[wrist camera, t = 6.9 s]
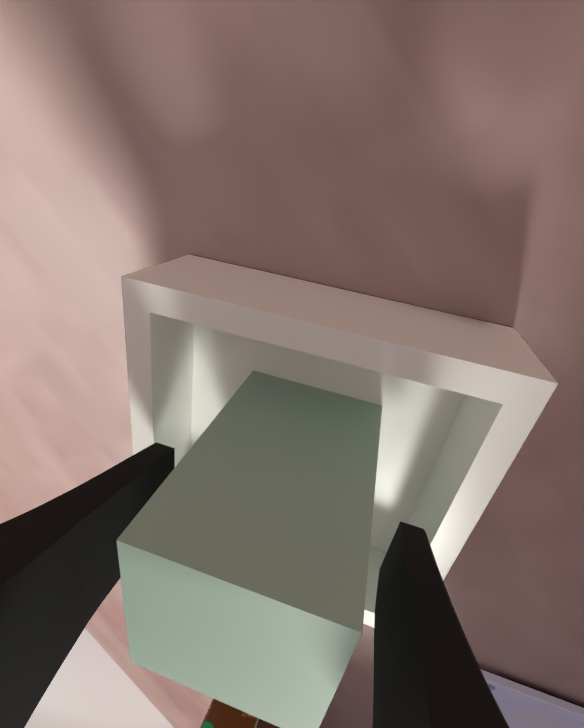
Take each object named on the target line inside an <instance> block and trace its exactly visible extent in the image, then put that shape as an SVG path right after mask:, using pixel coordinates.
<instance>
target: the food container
mask: <svg viewBox="0 0 584 728" xmlns="http://www.w3.org/2000/svg"><path fill="white" fill-rule="evenodd" d="M201 728H280V727H278V726H275V725H273V724H271V723H268V722H266V721H264V720H262V719H259V718H257V717H255V716H252V715H250V714H248V713H246V712H243V711H241V710H239V709H236V708H234V707H232V706H230V705H227V704H225V703H223V702H220V701H218V700H216V699H214V698H213V700H212V702H211V705H210V707H209V709H208V712H207V714H206V716H205V718H204V721H203V723H202V725H201Z"/></svg>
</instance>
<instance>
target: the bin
mask: <svg viewBox="0 0 584 728" xmlns="http://www.w3.org/2000/svg"><path fill="white" fill-rule="evenodd" d="M121 281H122V295H123V310H124V325H125V340H126V355H127V369H128V384H129V399H130V414H131V428H132V443H133V455H134V454H136V453H138V452H140V451H141V450H143V449H145V448H147V447H149V446H150V445H152V444H154V443H156V442H157V443H160V444H163V445H166V446H169V447H172V448H175V467H176V466H177V464H178V463H179V462H180V461H181V459H182V458H183V457H184V456H185V454H186V453H187V452H188V451H189V449H190V448H191V447H192V446H193V444H194V443H195V442H196V441H197V439H198V438H199V437H200V436H201V435H202V433H203V432H204V431H205V430H206V428H207V427H208V426H209V425H210V423H211V422H212V421H213V420H214V418H215V417H216V416H217V415H218V413H219V412H220V411H221V410H222V408H223V407H224V406H225V405H226V404H227V402H228V401H229V400H230V399H231V397H232V396H233V395H234V394H235V392H236V391H237V390H238V389H239V387H240V386H241V385H242V384H243V382H244V381H245V380H246V379H247V377H248V376H249V375H250V374H251V372H252V371H253V370H254V371H257V372H261V373H265V374H268V375H272V376H276V377H279V378H283V379H287V380H290V381H294V382H298V383H301V384H305V385H309V386H312V387H316V388H320V389H323V390H327V391H331V392H334V393H338V394H342V395H345V396H349V397H353V398H356V399H360V400H364V401H367V402H371V403H375V404H378V405H382V415H381V426H380V438H379V449H378V460H377V472H376V483H375V494H374V506H373V517H372V529H371V540H370V551H369V563H368V574H367V586H366V597H365V608H364V620H363V624H366V625H368V626H371V627H374V624H375V604H376V594H377V586H378V578H379V569H380V567H381V564H382V562H383V560H384V558H385V555H386V553H387V551H388V548H389V546H390V544H391V541H392V539H393V537H394V535H395V532H396V530H397V528H398V525H399V523H400V521H401V522H404V523H407V524H410V525H413V526H416V527H419V528H422V529H424V530H425V532H426V533H427V536H428V539H429V543H430V546H431V548H432V551H433V554H434V557H435V560H436V563H437V566H438V569H439V571H440V574H441V577H442V579H443V580H444V578H445V577H446V575H447V573H448V571H449V570H450V568H451V566H452V565H453V563H454V561H455V560H456V558H457V556H458V554H459V553H460V551H461V549H462V548H463V546H464V544H465V542H466V541H467V539H468V537H469V536H470V534H471V532H472V530H473V529H474V527H475V525H476V524H477V522H478V520H479V518H480V517H481V515H482V513H483V512H484V510H485V508H486V506H487V505H488V503H489V501H490V500H491V498H492V496H493V494H494V493H495V491H496V489H497V488H498V486H499V484H500V483H501V481H502V479H503V477H504V476H505V474H506V472H507V471H508V469H509V467H510V465H511V464H512V462H513V460H514V459H515V457H516V455H517V453H518V452H519V450H520V448H521V447H522V445H523V443H524V441H525V440H526V438H527V436H528V435H529V433H530V431H531V429H532V428H533V426H534V424H535V423H536V421H537V419H538V418H539V416H540V414H541V412H542V411H543V409H544V407H545V406H546V404H547V402H548V400H549V399H550V397H551V395H552V394H553V392H554V390H555V388H556V387H557V385H558V383H557V381H556V380H555V379H554V378H553V376H552V375H551V374H550V373H549V371H548V370H547V369H546V368H545V366H544V365H543V364H542V363H541V361H540V360H539V359H538V357H537V356H536V355H535V354H534V352H533V351H532V350H531V349H530V347H529V346H528V345H527V344H526V342H525V341H524V340H523V339H522V337H521V336H520V335H519V334H518V332H517V331H516V330H515V328H511V327H507V326H502V325H498V324H494V323H489V322H485V321H480V320H476V319H471V318H467V317H463V316H458V315H454V314H449V313H445V312H441V311H436V310H432V309H427V308H423V307H419V306H414V305H410V304H405V303H401V302H397V301H392V300H388V299H383V298H379V297H374V296H370V295H366V294H361V293H357V292H352V291H348V290H344V289H339V288H335V287H330V286H326V285H322V284H317V283H313V282H308V281H304V280H299V279H295V278H291V277H286V276H282V275H277V274H273V273H269V272H264V271H260V270H255V269H251V268H247V267H242V266H238V265H233V264H229V263H225V262H220V261H216V260H211V259H207V258H202V257H198V256H194V255H186V256H183V257H180V258H177V259H174V260H170V261H167V262H164V263H161V264H158V265H155V266H152V267H149V268H146V269H142V270H139V271H136V272H133V273H130V274H127V275H124V276H121Z"/></svg>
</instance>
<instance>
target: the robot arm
mask: <svg viewBox="0 0 584 728" xmlns="http://www.w3.org/2000/svg"><path fill="white" fill-rule="evenodd" d="M174 468H175V448H172V447H169V446H166V445H163V444H160V443H157V442H156V443H154V444H152V445H150V446H149V447H147V448H145V449H143V450H141V451H140V452H138V453H136V454H134V455H133V456H131V457H129V458H128V459H126V460H124V461H122V462H121V463H119V464H117V465H115V466H114V467H112V468H110V469H108V470H107V471H105V472H103V473H101V474H100V475H98V476H96V477H94V478H92V479H90V480H89V481H87V482H85V483H83V484H81V485H80V486H78V487H76V488H74V489H72V490H70V491H68V492H66V493H64V494H62V495H60V496H58V497H56V498H54V499H53V500H51V501H49V502H47V503H45V504H43V505H41V506H39V507H37V508H35V509H32V510H30V511H28V512H26V513H24V514H22V515H20V516H17V517H15V518H13V519H11V520H8V521H6V522H4V523H1V524H0V728H24V727H25V725H26V724H27V722H28V720H29V718H30V717H31V715H32V713H33V711H34V710H35V708H36V706H37V705H38V703H39V701H40V699H41V698H42V696H43V694H44V693H45V691H46V690H47V688H48V686H49V685H50V683H51V681H52V680H53V678H54V676H55V674H56V673H57V671H58V669H59V668H60V666H61V665H62V663H63V661H64V660H65V658H66V657H67V655H68V653H69V652H70V650H71V649H72V647H73V645H74V644H75V642H76V641H77V639H78V637H79V636H80V634H81V633H82V631H83V629H84V628H85V626H86V625H87V623H88V622H89V620H90V619H91V617H92V616H93V614H94V613H95V611H96V610H97V609H98V607H99V606H100V604H101V603H102V601H103V600H104V599H105V597H106V596H107V595H108V593H109V592H110V591H111V589H112V588H113V587H114V585H115V584H116V583H117V581H118V580H119V579H120V577H121V576H120V567H119V558H118V549H117V541H116V540H117V539H118V538H119V536H120V535H121V534H122V533H123V531H124V530H125V529H126V528H127V526H128V525H129V524H130V523H131V521H132V520H133V519H134V518H135V516H136V515H137V514H138V513H139V511H140V510H141V509H142V508H143V507H144V505H145V504H146V503H147V502H148V500H149V499H150V498H151V497H152V495H153V494H154V493H155V492H156V490H157V489H158V488H159V487H160V485H161V484H162V483H163V482H164V480H165V479H166V478H167V477H168V475H169V474H170V473H171V472H172V471H173V469H174ZM373 728H584V708H583V707H580V706H577V705H575V704H572V703H569V702H567V701H564V700H561V699H559V698H556V697H553V696H551V695H548V694H545V693H543V692H540V691H537V690H535V689H532V688H529V687H527V686H524V685H521V684H519V683H516V682H513V681H511V680H508V679H505V678H503V677H500V676H498V675H495V674H492V673H490V672H487V671H484V670H482V669H480V667H479V665H478V663H477V660H476V658H475V656H474V654H473V652H472V650H471V647H470V645H469V643H468V641H467V638H466V636H465V634H464V631H463V629H462V627H461V624H460V622H459V619H458V617H457V615H456V612H455V610H454V607H453V605H452V603H451V600H450V598H449V595H448V592H447V590H446V587H445V585H444V582H443V579H442V577H441V574H440V571H439V569H438V566H437V563H436V560H435V557H434V554H433V551H432V548H431V546H430V543H429V539H428V536H427V533H426V532H425V530H424V529H422V528H419V527H416V526H413V525H410V524H407V523H404V522H401V521H400V523H399V525H398V528H397V530H396V532H395V535H394V537H393V539H392V541H391V544H390V546H389V548H388V551H387V553H386V555H385V558H384V560H383V562H382V564H381V567H380V569H379V578H378V586H377V594H376V604H375V624H374V702H373Z"/></svg>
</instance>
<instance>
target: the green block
mask: <svg viewBox="0 0 584 728" xmlns="http://www.w3.org/2000/svg"><path fill="white" fill-rule="evenodd" d="M381 415H382V405H378V404H375V403H371V402H367V401H364V400H360V399H356V398H353V397H349V396H345V395H342V394H338V393H334V392H331V391H327V390H323V389H320V388H316V387H312V386H309V385H305V384H301V383H298V382H294V381H290V380H287V379H283V378H279V377H276V376H272V375H268V374H265V373H261V372H257V371H254V370H253V371H252V372H251V374H250V375H249V376H248V377H247V379H246V380H245V381H244V382H243V384H242V385H241V386H240V387H239V389H238V390H237V391H236V392H235V394H234V395H233V396H232V397H231V399H230V400H229V401H228V402H227V404H226V405H225V406H224V407H223V408H222V410H221V411H220V412H219V413H218V415H217V416H216V417H215V418H214V420H213V421H212V422H211V423H210V425H209V426H208V427H207V428H206V430H205V431H204V432H203V433H202V435H201V436H200V437H199V438H198V439H197V441H196V442H195V443H194V444H193V446H192V447H191V448H190V449H189V451H188V452H187V453H186V454H185V456H184V457H183V458H182V459H181V461H180V462H179V463H178V464H177V466H176V467H175V468H174V469H173V471H172V472H171V473H170V474H169V475H168V477H167V478H166V479H165V480H164V482H163V483H162V484H161V485H160V487H159V488H158V489H157V490H156V492H155V493H154V494H153V495H152V497H151V498H150V499H149V500H148V502H147V503H146V504H145V505H144V507H143V508H142V509H141V510H140V511H139V513H138V514H137V515H136V516H135V518H134V519H133V520H132V521H131V523H130V524H129V525H128V526H127V528H126V529H125V530H124V531H123V533H122V534H121V535H120V536H119V538H118V539H117V540H116V541H117V549H118V558H119V567H120V576H121V584H122V593H123V602H124V610H125V619H126V628H127V636H128V645H129V654H130V662H131V663H134V664H136V665H138V666H140V667H143V668H145V669H147V670H150V671H152V672H154V673H156V674H159V675H161V676H163V677H166V678H168V679H170V680H172V681H175V682H177V683H179V684H182V685H184V686H186V687H188V688H191V689H193V690H195V691H198V692H200V693H202V694H204V695H207V696H209V697H211V698H214V699H216V700H218V701H220V702H223V703H225V704H227V705H230V706H232V707H234V708H236V709H239V710H241V711H243V712H246V713H248V714H250V715H252V716H255V717H257V718H259V719H262V720H264V721H266V722H268V723H271V724H273V725H275V726H278V727H280V728H319V727H320V725H321V722H322V720H323V718H324V716H325V714H326V711H327V709H328V707H329V705H330V703H331V700H332V698H333V696H334V694H335V692H336V690H337V687H338V685H339V683H340V681H341V679H342V676H343V674H344V672H345V670H346V668H347V666H348V663H349V661H350V659H351V657H352V655H353V652H354V650H355V648H356V646H357V644H358V641H359V639H360V637H361V635H362V631H363V620H364V608H365V597H366V586H367V574H368V563H369V551H370V540H371V529H372V517H373V506H374V494H375V483H376V472H377V460H378V449H379V438H380V426H381Z"/></svg>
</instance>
